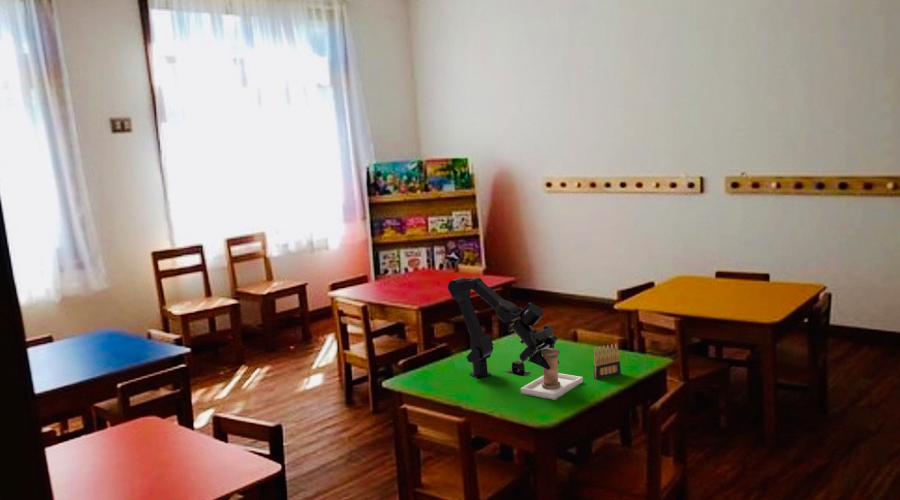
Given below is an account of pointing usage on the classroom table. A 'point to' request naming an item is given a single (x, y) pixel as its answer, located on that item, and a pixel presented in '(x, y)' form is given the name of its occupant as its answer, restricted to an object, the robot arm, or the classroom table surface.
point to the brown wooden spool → (551, 368)
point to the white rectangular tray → (565, 385)
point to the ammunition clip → (606, 362)
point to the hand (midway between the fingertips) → (553, 366)
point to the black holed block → (518, 369)
